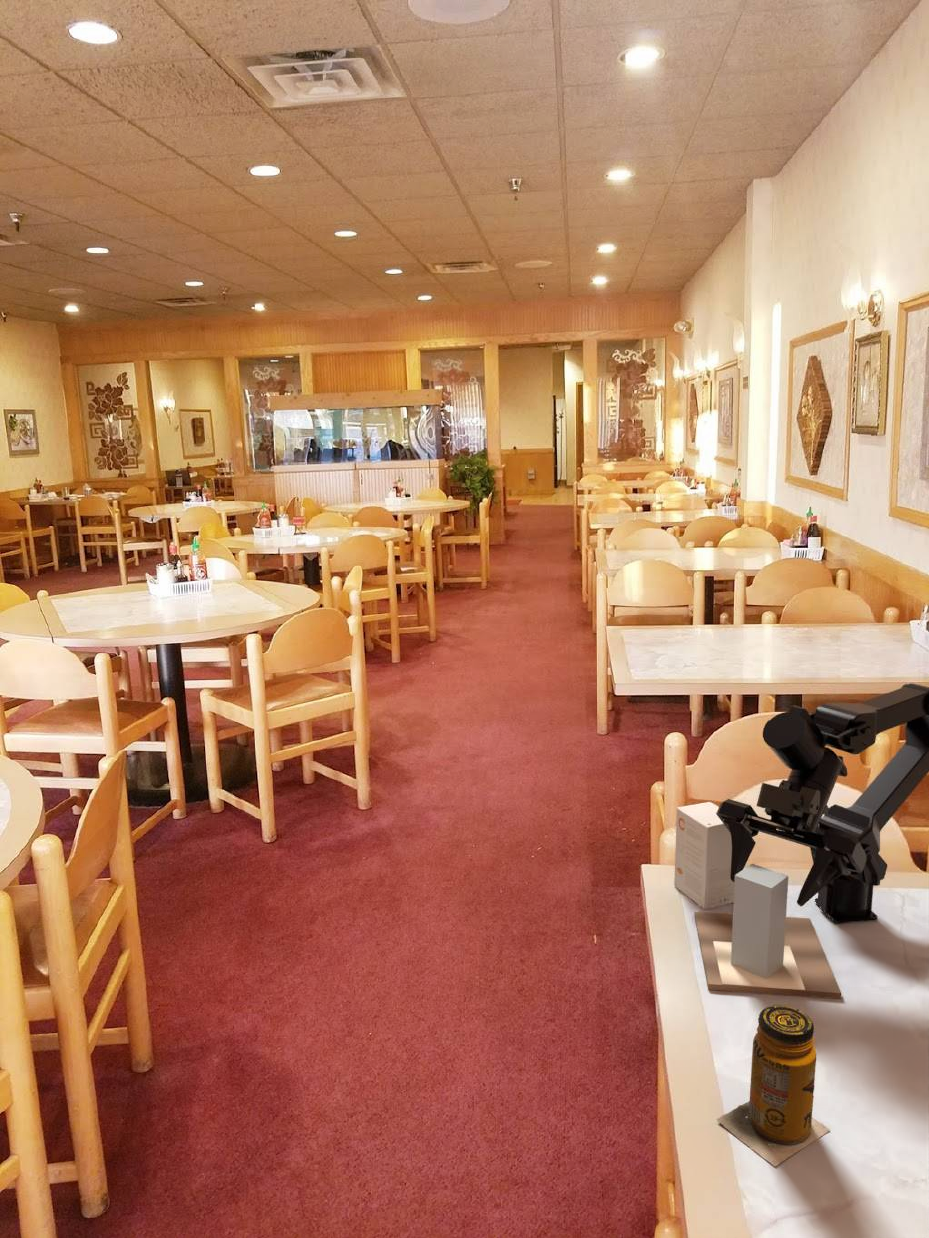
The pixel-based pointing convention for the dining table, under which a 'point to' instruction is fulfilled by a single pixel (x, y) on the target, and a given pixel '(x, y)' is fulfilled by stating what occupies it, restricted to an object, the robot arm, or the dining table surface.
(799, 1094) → the condiment
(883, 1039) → the dining table surface
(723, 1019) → the dining table surface
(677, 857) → the small box
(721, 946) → the brown square board
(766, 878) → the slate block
